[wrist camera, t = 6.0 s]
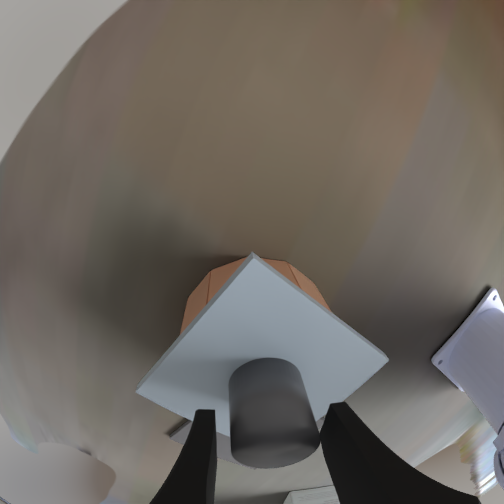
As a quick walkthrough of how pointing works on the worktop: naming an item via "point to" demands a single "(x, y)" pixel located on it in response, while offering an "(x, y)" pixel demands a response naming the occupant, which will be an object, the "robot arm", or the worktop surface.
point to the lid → (263, 366)
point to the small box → (313, 496)
